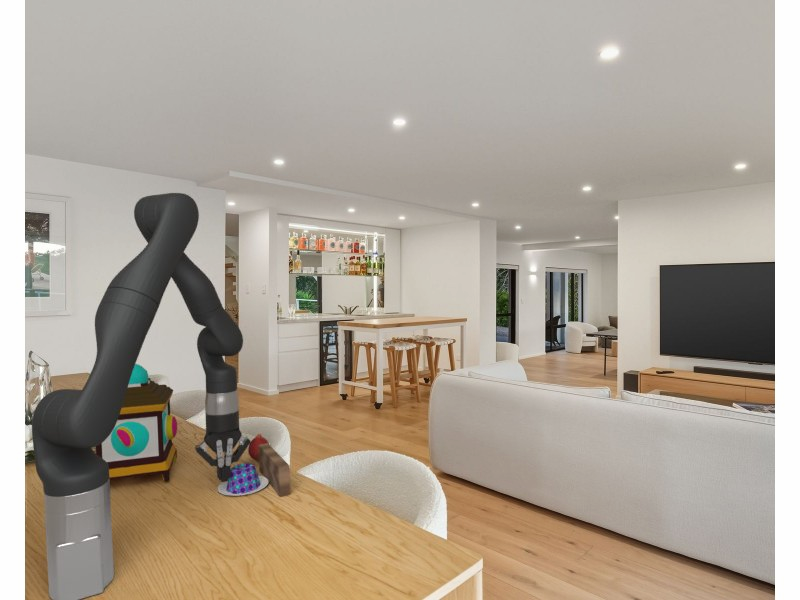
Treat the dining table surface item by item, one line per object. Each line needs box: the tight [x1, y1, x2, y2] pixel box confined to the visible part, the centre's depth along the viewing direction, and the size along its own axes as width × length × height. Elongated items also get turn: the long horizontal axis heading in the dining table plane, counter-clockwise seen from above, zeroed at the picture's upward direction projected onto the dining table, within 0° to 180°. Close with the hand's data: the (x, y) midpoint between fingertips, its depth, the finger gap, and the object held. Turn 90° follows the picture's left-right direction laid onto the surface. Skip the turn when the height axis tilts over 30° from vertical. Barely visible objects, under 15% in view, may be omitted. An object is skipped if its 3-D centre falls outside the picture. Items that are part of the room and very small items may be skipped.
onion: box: [247, 433, 270, 462], centre depth 137 cm, size 6×6×8 cm
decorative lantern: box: [94, 363, 178, 484], centre depth 128 cm, size 20×20×30 cm
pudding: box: [217, 462, 269, 496], centre depth 120 cm, size 12×12×5 cm
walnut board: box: [258, 442, 291, 498], centre depth 123 cm, size 19×2×7 cm, turn 30°
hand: (224, 480), depth 117 cm, fingers closed
